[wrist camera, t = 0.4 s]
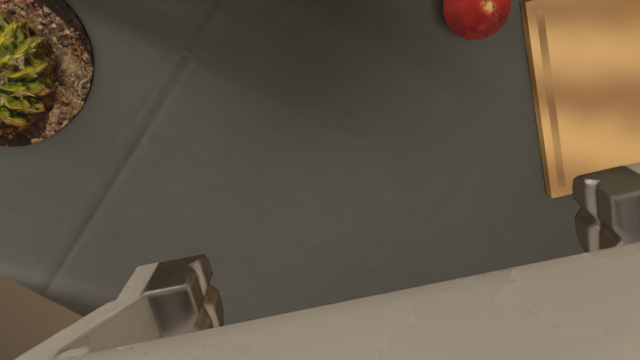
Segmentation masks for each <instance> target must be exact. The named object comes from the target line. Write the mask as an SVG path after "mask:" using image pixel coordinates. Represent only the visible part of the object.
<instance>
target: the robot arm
mask: <svg viewBox="0 0 640 360" xmlns="http://www.w3.org/2000/svg"><path fill="white" fill-rule="evenodd" d="M572 192H573V199H574V200H575V201H576V202H577V203H578V204H579V205H580V206H581V207H580V209H579V211H578V212H577V214H576V216H575V226H576V233H577V236H578V239H579V242H580V244H581V246H582V248H583V249H584V251H585V252H586V253H583V254H578V255H573V256H568V257H563V258H558V259H553V260H548V261H543V262H538V263H533V264H528V265H523V266H518V267H513V268H508V269H503V270H498V271H493V272H488V273H483V274H479V275H474V276H469V277H464V278H459V279H454V280H449V281H444V282H439V283H434V284H429V285H424V286H419V287H414V288H409V289H404V290H399V291H394V292H389V293H384V294H379V295H375V296H370V297H365V298H360V299H355V300H350V301H345V302H340V303H335V304H330V305H325V306H320V307H315V308H310V309H305V310H300V311H295V312H290V313H285V314H280V315H275V316H271V317H266V318H261V319H256V320H251V321H246V322H241V323H236V324H231V325H226V326H223V324H224V311H223V306H222V300H221V297H220V294H219V290H217V289H216V288H215V287H213V286H212V285H211V284H210V280H211V277H212V274H213V271H212V268H211V265H210V262H209V259H208V258H207V257H206V255H205V254H202V255H197V256H192V257H186V258H181V259H176V260H171V261H166V262H157V263H153V264H148V265H144V266H139V267H137V268H136V270H135V272H134V273H133V275H132V276H131V278H130V279H129V281H128V282H127V284H126V285H125V287H124V289H123V290H122V292H121V293H120V295H119V296H118V298H117V299H116V301H112V302H108V303H107V304H105V305H103V306H102V307H100V308H98V309H97V310H95V311H93V312H92V313H90V314H88V315H87V316H85V317H84V318H82V319H80V320H79V321H77V322H75V323H74V324H72V325H71V326H69V327H67V328H65V329H64V330H62V331H61V332H59V333H57V334H56V335H54V336H52V337H51V338H49V339H47V340H46V341H44V342H42V343H41V344H39V345H37V346H36V347H34V348H33V349H31V350H29V351H28V352H26V353H24V354H23V355H21V356H20V357H18V358H16V359H14V360H640V162H637V163H633V164H629V165H625V166H624V165H621V166H617V167H613V168H608V169H604V170H600V171H595V172H591V173H587V174H582V175H578V176H577V177H575V178H574V179H573V185H572Z"/></svg>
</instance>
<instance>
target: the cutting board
mask: <svg viewBox="0 0 640 360" xmlns="http://www.w3.org/2000/svg"><path fill="white" fill-rule="evenodd" d="M520 7H521V15H522V22H523V29H524V36H525V43H526V51H527V58H528V65H529V72H530V79H531V87H532V94H533V101H534V108H535V115H536V123H537V130H538V137H539V144H540V151H541V159H542V166H543V173H544V180H545V187H546V194H547V195H549V196H550V197H551V198H556V197H560V196H564V195H568V194H572V193H573V192H572V185H573V179H574V178H575V177H577V176H578V175H582V174H587V173H591V172H595V171H600V170H604V169H608V168H613V167H617V166H621V165H624V166H625V165H629V164H633V163H637V162H640V0H525V1H522V2H520Z"/></svg>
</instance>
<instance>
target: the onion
mask: <svg viewBox="0 0 640 360" xmlns="http://www.w3.org/2000/svg"><path fill="white" fill-rule="evenodd" d="M510 10H511V0H444V3H443V15H444V17H445V20H446V22H447V25H448V27H449V28H451V29H452V30H453V31H454V32H455V33H456V34H457V35H459V36H461V37H463V38H465V39H484V38H486V37H489V36H491V35H493V34H495V33H496V32H497V31H498V30H499V29H500V28H501V27H502V26H503V25H504V24H505V23H506V22H507V19H508V16H509V13H510Z"/></svg>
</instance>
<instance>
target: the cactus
mask: <svg viewBox="0 0 640 360" xmlns="http://www.w3.org/2000/svg"><path fill="white" fill-rule="evenodd" d="M91 56H92V49H91V45H90V41H89V38H88V37H87V35H86V33H85V31H84V30H83V27H82V25H81V23H80V22H79V19H78V18H77V16H76V15H75V14H74V13H73V11H72V10H71V9H70V7H69V6H68V5H67V4H66V3H65V2H64V1H63V0H0V146H10V147H11V146H14V147H15V146H26V145H29V144H32V143H35V142H38V141H41V140H43V139H45V138H47V137H49V136H51V135H53V134H54V133H56V132H57V131H58V130H60V129H62V128H63V127H64V126H65V125H66V124H67V123H68V122H70V120H71V118H72V117H73V116H75V115H76V114H77V112H78V111H79V110H80V109H81V107H82V106H83V104H84V102H85V99H86V95H87V92H88V91H89V87H90V84H91V77H92V69H93V65H92V57H91Z"/></svg>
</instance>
